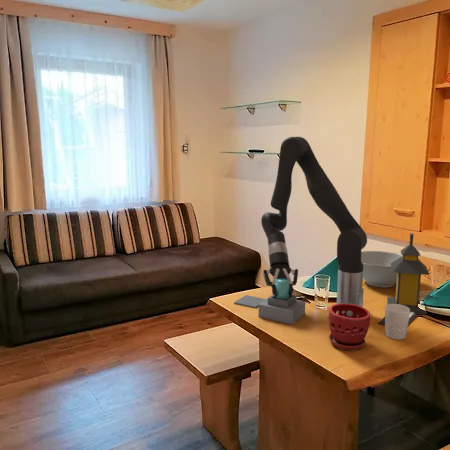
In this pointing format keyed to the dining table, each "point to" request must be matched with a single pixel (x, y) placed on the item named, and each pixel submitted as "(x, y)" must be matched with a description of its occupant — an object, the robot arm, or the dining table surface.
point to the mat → (249, 301)
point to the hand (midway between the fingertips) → (283, 294)
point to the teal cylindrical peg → (282, 289)
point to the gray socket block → (282, 309)
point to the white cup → (396, 321)
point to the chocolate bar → (411, 318)
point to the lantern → (408, 278)
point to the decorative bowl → (379, 268)
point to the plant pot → (348, 326)
